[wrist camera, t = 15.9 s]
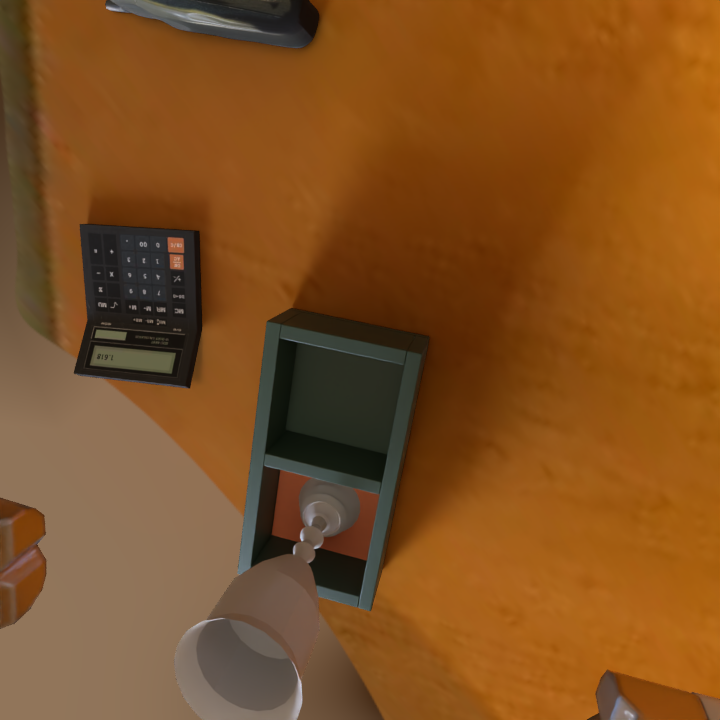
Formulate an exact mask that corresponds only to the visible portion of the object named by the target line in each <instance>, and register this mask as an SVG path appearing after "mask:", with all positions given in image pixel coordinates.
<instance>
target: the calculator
mask: <svg viewBox="0 0 720 720" xmlns="http://www.w3.org/2000/svg"><path fill="white" fill-rule="evenodd" d="M80 235H81V247H82V259H83V271H84V283H85V295H86V307H87V319H88V320H87V324H86V328H85V332H84V336H83V340H82V343H81V347H80V351H79V355H78V359H77V363H76V366H75V370H74V374H77V375H80V376H88V377H96V378H104V379H113V380H122V381H130V382H139V383H147V384H156V385H165V386H173V387H182V388H190V385H191V380H192V376H193V371H194V366H195V361H196V356H197V351H198V346H199V341H200V336H201V331H202V310H201V275H200V241H199V231H193V230H177V229H160V228H144V227H128V226H112V225H96V224H80Z"/></svg>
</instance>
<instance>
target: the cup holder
mask: <svg viewBox="0 0 720 720" xmlns="http://www.w3.org/2000/svg"><path fill="white" fill-rule="evenodd" d="M429 338H430V337H429V336H424V335H419V334H415V333H410V332H405V331H400V330H395V329H390V328H386V327H381V326H376V325H371V324H366V323H361V322H357V321H352V320H347V319H342V318H337V317H332V316H327V315H323V314H318V313H313V312H308V311H303V310H298V309H294V308H291V309H288V310H287V311H285V312H283V313H281V314H279V315H277V316H276V317H274V318H272V319H270V320H268V321H267V325H266V333H265V342H264V351H263V359H262V368H261V376H260V385H259V393H258V402H257V411H256V419H255V428H254V436H253V445H252V453H251V462H250V471H249V479H248V488H247V496H246V505H245V513H244V522H243V531H242V539H241V548H240V556H239V565H238V574H242V573H244V572H245V571H247V570H249V569H250V568H252V567H254V566H255V565H257V564H259V563H260V562H262V561H265V560H269V559H272V558H275V557H278V556H281V555H286V554H293V548H294V546H295V544H297V543H298V542H302V541H301V538H300V533H301V531H302V529H303V528H305V527H306V526H305V525H304V524H303V522H302V519H301V516H300V507H299V494H300V491H301V488H302V487H303V485H304V484H305V483H306V482H307V481H308V480H310V479H311V478H315V479H319V480H323V481H327V482H331V483H335V484H339V485H343V486H347V487H351V488H353V489H354V490H355V492H356V493H357V495H358V498H359V501H360V514H359V516H358V519H357V521H356V522H355V523H354V524H353V526H352V527H350V528H349V529H347V530H345V531H343V532H341V533H339V534H337V535H335V536H331V537H323V538H324V541H323V544H322V545H321V546H320V547H319V548H316V549H314V551H315V558H314V559H313V561H312V562H310V563H308V564H309V566H310V567H311V570H312V572H313V576H314V580H315V584H316V589H317V593H318V596H319V597H322V598H326V599H329V600H333V601H336V602H340V603H343V604H347V605H351V606H354V607H358V608H361V609H365V610H368V611H371V609H372V605H373V602H374V598H375V595H376V591H377V587H378V584H379V580H380V577H381V573H382V569H383V565H384V560H385V555H386V550H387V545H388V540H389V535H390V530H391V525H392V520H393V515H394V510H395V505H396V501H397V496H398V491H399V486H400V481H401V476H402V471H403V466H404V461H405V456H406V451H407V446H408V442H409V437H410V432H411V427H412V422H413V417H414V412H415V407H416V402H417V397H418V392H419V387H420V382H421V378H422V373H423V368H424V363H425V358H426V353H427V348H428V343H429ZM293 555H294V554H293Z"/></svg>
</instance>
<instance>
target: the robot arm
mask: <svg viewBox="0 0 720 720" xmlns="http://www.w3.org/2000/svg"><path fill="white" fill-rule="evenodd" d="M45 534H46V532H45V520H44V515H43V514H42V513H41V512H39V511H38V510H37V509H35V508H32V507H28V506H25V505H22V504H19V503H16V502H13V501H9V500H6V499H3V498H0V629H1V628H4V627H6V626H9V625H12V624H14V623H16V622H17V621H18V620H19V619H20V618H21V617H22V616H23V615H24V614H25V613H26V612H27V611H29V610H30V609H31V607H32V605H33V604H34V602H35V600H36V599H37V597H38V596H39V594H40V592H41V591H42V588H43V584H44V581H45V577H46V559H45V557H44V555H43V554H42V552H41V550H40V548H39V547H38V545H37V544H38V543H39V542H40V540H41V539H42V538H43V537H44V536H45ZM595 694H596V699H597V704H598V709H599V713H598V714H596V715H594V716H593V717H591V718H589V719H587V720H720V699H718V698H714V697H710V696H706V695H702V694H698V693H694V692H692V693H689V692H687V691H683V690H680V689H676V688H672V687H669V686H665V685H661V684H658V683H654V682H650V681H647V680H643V679H640V678H636V677H632V676H629V675H625V674H621V673H618V672H614V671H610V670H607V671H606V672H605V673H604V675H603V676H602V677H601V679H600V682H599V685H598V688H597V690H596V693H595Z"/></svg>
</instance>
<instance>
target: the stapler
mask: <svg viewBox="0 0 720 720" xmlns="http://www.w3.org/2000/svg"><path fill="white" fill-rule="evenodd" d="M105 5H106V8H107V9H109V10H111V11H117V12H128V13H134V14H136V15H138V16H142V17H147V18H153V19H159V20H162V21H164V22H165V23H167V24H169V25H170V26H172V27H174V28H177V29H180V30H185V31H191V32H197V33H203V34H210V35H215V36H220V37H225V38H230V39H237V40H245V41H252V42H259V43H265V44H271V45H276V46H283V47H291V48H302V47H304V46H306V45H308V44H309V43H310V42H311V41H312V39H313V38H314V36H315V33H316V30H317V26H318V21H319V13H318V11H317V9H316V8H315V7H314V6H313V5H312V4H311V3H310V1H309V0H107V1H106V4H105Z"/></svg>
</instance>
